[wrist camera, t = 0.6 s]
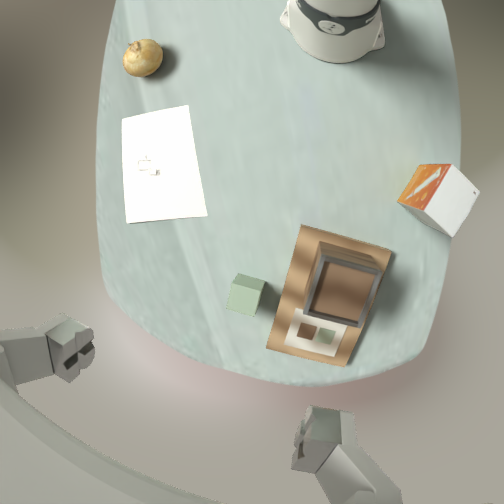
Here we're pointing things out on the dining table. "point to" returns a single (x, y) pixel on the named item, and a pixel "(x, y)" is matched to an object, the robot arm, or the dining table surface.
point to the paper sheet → (161, 167)
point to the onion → (142, 57)
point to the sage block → (245, 294)
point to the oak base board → (298, 293)
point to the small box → (439, 197)
